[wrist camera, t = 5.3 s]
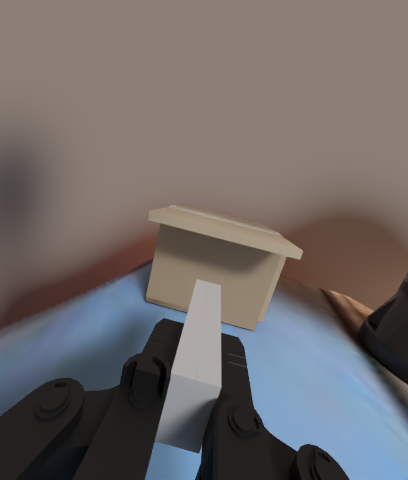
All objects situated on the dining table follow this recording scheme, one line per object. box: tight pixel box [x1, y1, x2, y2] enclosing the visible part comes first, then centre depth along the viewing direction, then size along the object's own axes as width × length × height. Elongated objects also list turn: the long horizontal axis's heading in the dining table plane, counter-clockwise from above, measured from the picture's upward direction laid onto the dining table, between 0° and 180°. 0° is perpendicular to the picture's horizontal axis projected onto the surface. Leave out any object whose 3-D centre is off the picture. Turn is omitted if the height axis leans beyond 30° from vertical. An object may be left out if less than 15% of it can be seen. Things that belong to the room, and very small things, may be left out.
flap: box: [148, 204, 303, 259], centre depth 24 cm, size 14×15×1 cm
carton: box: [145, 223, 287, 331], centre depth 28 cm, size 15×10×11 cm
